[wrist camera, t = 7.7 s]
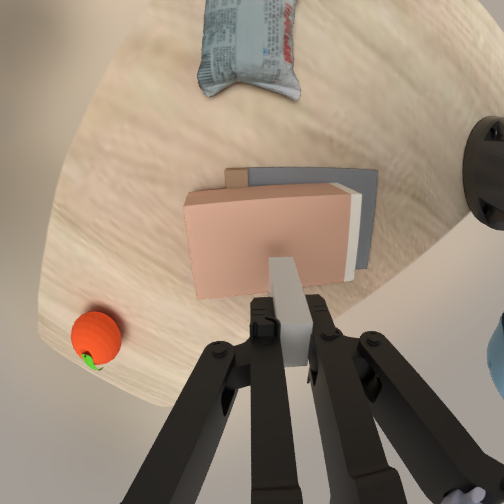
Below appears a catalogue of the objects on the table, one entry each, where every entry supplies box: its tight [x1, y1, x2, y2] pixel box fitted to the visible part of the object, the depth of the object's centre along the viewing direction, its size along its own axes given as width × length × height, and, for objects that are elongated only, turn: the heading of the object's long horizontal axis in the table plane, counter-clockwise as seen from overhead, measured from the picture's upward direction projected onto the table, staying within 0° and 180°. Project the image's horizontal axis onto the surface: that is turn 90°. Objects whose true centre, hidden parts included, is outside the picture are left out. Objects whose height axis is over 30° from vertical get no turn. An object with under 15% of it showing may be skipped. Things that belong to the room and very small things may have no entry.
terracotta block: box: [183, 183, 362, 299], centre depth 24 cm, size 5×8×14 cm
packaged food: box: [197, 0, 301, 101], centre depth 18 cm, size 9×12×5 cm
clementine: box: [71, 312, 121, 370], centre depth 30 cm, size 8×7×7 cm
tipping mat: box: [225, 167, 378, 269], centre depth 27 cm, size 15×11×2 cm
